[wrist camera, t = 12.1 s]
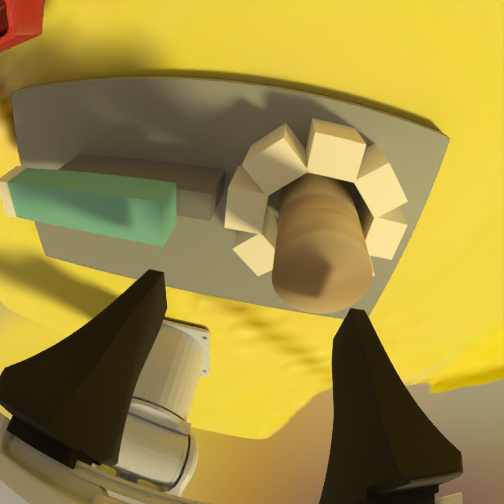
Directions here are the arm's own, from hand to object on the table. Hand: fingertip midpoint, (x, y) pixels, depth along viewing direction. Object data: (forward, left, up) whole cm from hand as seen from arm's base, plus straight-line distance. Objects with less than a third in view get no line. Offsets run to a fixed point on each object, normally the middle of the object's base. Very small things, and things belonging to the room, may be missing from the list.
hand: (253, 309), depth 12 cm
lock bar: (+1, +11, -5) cm, 12 cm away
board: (-1, +5, -10) cm, 11 cm away
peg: (+1, -3, -9) cm, 9 cm away
